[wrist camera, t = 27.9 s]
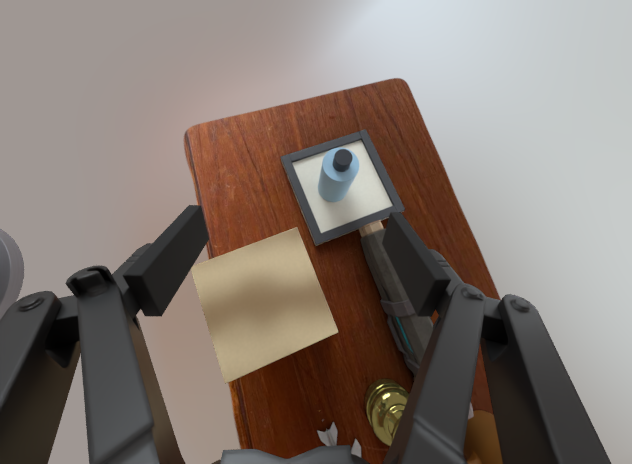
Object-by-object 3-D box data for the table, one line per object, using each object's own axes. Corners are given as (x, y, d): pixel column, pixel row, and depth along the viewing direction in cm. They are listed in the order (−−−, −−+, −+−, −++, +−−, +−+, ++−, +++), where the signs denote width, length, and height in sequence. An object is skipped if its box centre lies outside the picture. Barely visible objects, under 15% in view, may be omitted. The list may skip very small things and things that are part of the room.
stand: (233, 272, 39) (189, 266, 24) (298, 247, 41) (296, 226, 25) (256, 340, 37) (224, 384, 22) (323, 311, 39) (338, 332, 23)
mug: (434, 475, 35) (486, 552, 25) (423, 416, 37) (468, 467, 27) (509, 460, 36) (587, 527, 26) (495, 403, 38) (564, 447, 28)
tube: (379, 227, 46) (460, 388, 37) (348, 240, 46) (421, 401, 38) (384, 209, 35) (498, 428, 27) (344, 227, 36) (443, 445, 27)
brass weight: (356, 418, 36) (377, 470, 26) (371, 370, 37) (397, 402, 28) (399, 436, 36) (437, 495, 26) (412, 387, 37) (452, 425, 28)
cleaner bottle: (313, 179, 42) (317, 146, 32) (340, 170, 43) (353, 134, 33) (324, 206, 42) (333, 180, 31) (351, 196, 42) (369, 168, 32)
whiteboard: (281, 161, 44) (280, 156, 42) (363, 134, 47) (365, 129, 45) (315, 246, 41) (316, 244, 39) (401, 212, 44) (405, 209, 42)
